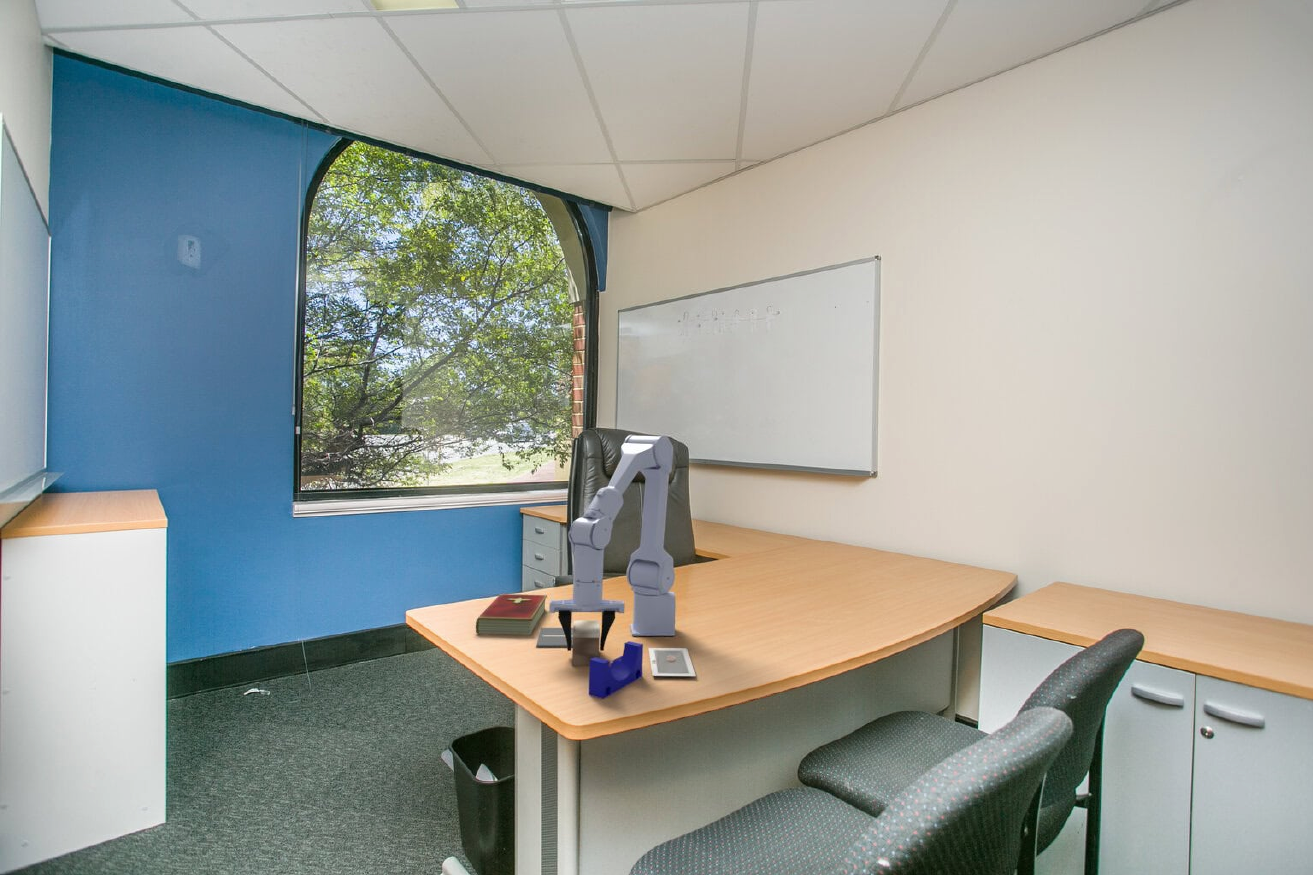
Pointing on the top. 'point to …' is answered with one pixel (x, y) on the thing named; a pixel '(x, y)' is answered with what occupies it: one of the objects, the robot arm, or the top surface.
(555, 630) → the mat
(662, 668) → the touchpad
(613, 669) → the blue cradle bracket
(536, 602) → the hardcover book
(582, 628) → the card box
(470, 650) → the top surface
